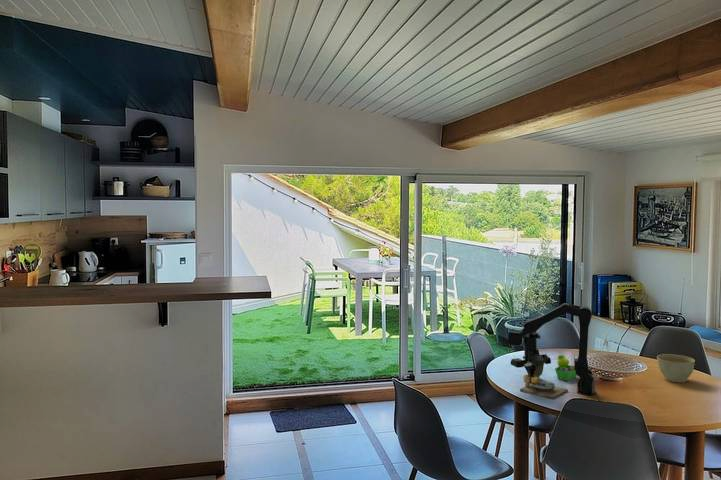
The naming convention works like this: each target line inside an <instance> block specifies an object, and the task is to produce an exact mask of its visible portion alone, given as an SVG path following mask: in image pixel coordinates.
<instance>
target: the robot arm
mask: <svg viewBox="0 0 721 480" xmlns="http://www.w3.org/2000/svg"><path fill="white" fill-rule="evenodd" d="M564 314H568V315H572V316H573V317H578V322H579V323H578V324H579V339H578V340H579V343H578V356H577V358H576V357H575V358H574V360H573V363H574V365H573V366H574V370H575V372H576V374H577V376H576V377H579V378H578V381H577V383H576V385H577V390H576V393H578V394H582V395H585V396H593V395H594V394H596V393H597V391H596V389H595V388H596V382H595V381H596V380H595V379H594V378H595V377H594V372H593V371H592V370H591V369H589V360H588V345H589V344H588V342H589V327H590V323H591V321H592V320H591V319H592V316H593V315H592V309H591V308H590V307H589V306H588V305H587V306H586V305H582V306H579V305H576V304H570V303H567V302H566V303H565V302H564V303H562V304H561V305H560V306H558V307H555V308H554V309H551V310H550V311H548V312H546V313H545V314H543V315H540V316H538V317H533V318H530V319H528V320H525V323H524V324H523V328H522V329H521V330H520V331H512V330H509V331H508V337H507V345H508V346H512V347H516V346H517V347H521V346H522V345H523V344H524V345H523V348H522V351H524V355H523V356H522V359H520V357H518V358H512V359H511V360H510V366H512V367H514V368H516V369H517V368H518V369H519V368H524V369H525V371H526V373H527V375H531V376H533V375H534V373H535V370H536V368H538V367H539V366H544V365H548V364H552V358H551V357H549V356H548V354H546V353H544V354H540V350H539V349H538V345H537V344H538V342H537V341H538V340H539V339H541V335H540V334H539V333H538V332H537V331H538V330H539V329H540V328H542V327H543V325H545V324H546V325H547V324H548V323H549V322H551V321H553V320H554V319H556V318H558V317H561V316H563V315H564Z"/></svg>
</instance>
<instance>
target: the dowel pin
mask: <svg viewBox="0 0 721 480" xmlns="http://www.w3.org/2000/svg"><path fill="white" fill-rule="evenodd" d="M524 383H525V385H524V387H529V385H530V384H529V376H526V377H525V382H524Z"/></svg>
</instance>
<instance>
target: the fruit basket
mask: <svg viewBox="0 0 721 480" xmlns="http://www.w3.org/2000/svg"><path fill="white" fill-rule="evenodd" d="M554 370H555V373H556V376H557V380H558V379H559V380H563V381H571V380H572V379H576V378H577V377H578V376H577V374H576V372H575V370H574V365H571V364H570V361H569V359H568V358H567V357H565V356H564V355H563V354H558V356H557V367H555V368H554Z"/></svg>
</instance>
